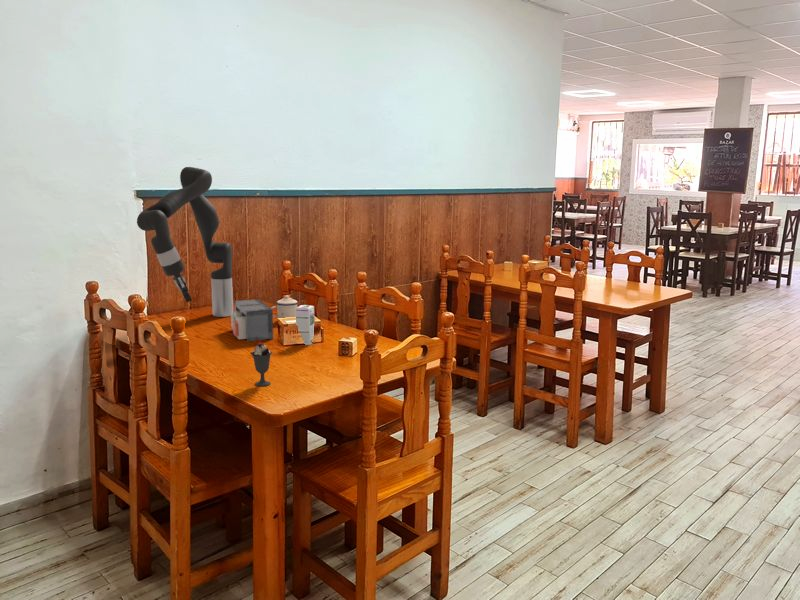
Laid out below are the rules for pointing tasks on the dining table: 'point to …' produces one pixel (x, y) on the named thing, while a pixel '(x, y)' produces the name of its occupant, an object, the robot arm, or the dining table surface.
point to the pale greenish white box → (234, 317)
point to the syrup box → (305, 322)
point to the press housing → (256, 318)
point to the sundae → (261, 362)
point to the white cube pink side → (240, 327)
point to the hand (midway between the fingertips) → (189, 301)
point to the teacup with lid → (285, 307)
